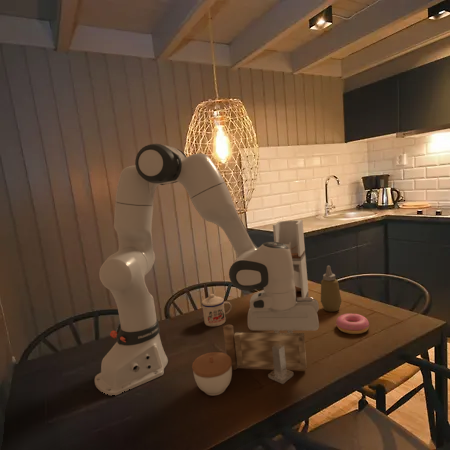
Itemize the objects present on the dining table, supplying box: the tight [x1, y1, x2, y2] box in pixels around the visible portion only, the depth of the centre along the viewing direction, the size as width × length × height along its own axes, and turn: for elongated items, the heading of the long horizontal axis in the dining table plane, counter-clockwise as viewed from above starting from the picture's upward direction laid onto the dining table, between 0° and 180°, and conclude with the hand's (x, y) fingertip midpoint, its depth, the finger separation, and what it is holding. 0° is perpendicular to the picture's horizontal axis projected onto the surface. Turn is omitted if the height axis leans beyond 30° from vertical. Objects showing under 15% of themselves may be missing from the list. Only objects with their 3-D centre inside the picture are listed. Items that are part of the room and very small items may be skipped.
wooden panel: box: [234, 332, 308, 370], centre depth 94 cm, size 20×2×10 cm, turn 76°
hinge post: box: [222, 324, 239, 371], centre depth 97 cm, size 3×3×13 cm
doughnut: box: [335, 312, 370, 335], centre depth 113 cm, size 11×11×4 cm
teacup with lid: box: [201, 293, 232, 327], centre depth 131 cm, size 12×9×12 cm
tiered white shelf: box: [272, 219, 309, 302], centre depth 143 cm, size 11×11×35 cm
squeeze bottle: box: [320, 265, 342, 313], centre depth 129 cm, size 8×8×18 cm
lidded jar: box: [191, 351, 233, 397], centre depth 88 cm, size 11×11×9 cm
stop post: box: [267, 343, 295, 385], centre depth 90 cm, size 5×5×9 cm
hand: (284, 343), depth 94 cm, fingers closed
